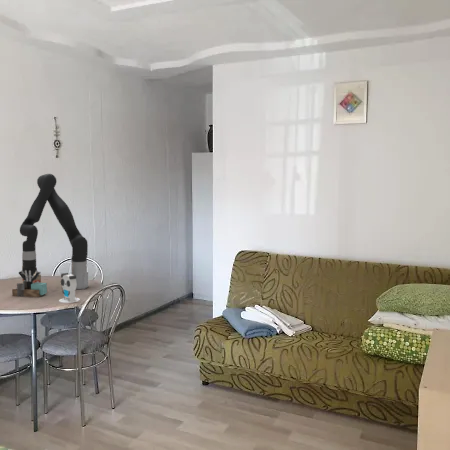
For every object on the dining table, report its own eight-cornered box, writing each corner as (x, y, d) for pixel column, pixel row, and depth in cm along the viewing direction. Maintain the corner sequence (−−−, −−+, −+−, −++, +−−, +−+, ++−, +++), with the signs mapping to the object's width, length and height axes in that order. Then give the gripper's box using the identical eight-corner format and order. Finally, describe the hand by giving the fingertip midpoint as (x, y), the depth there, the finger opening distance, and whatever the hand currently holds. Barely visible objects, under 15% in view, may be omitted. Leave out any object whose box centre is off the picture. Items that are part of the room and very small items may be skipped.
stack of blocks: (41, 289, 298) (40, 269, 297) (30, 290, 294) (30, 270, 293) (32, 282, 315) (31, 264, 314) (22, 283, 311) (21, 265, 310)
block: (46, 292, 285) (46, 282, 284) (42, 294, 279) (42, 284, 279) (35, 292, 285) (35, 282, 285) (31, 294, 280) (30, 284, 279)
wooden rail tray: (45, 293, 286) (44, 281, 285) (38, 297, 278) (38, 284, 277) (19, 292, 288) (19, 280, 287) (12, 296, 279) (12, 283, 279)
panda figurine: (55, 299, 273) (54, 273, 271) (73, 296, 281) (73, 271, 279) (64, 304, 264) (64, 277, 263) (83, 300, 272) (83, 274, 271)
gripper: (43, 257, 284) (43, 286, 286) (21, 257, 285) (22, 285, 287) (37, 259, 276) (37, 289, 278) (15, 259, 278) (15, 288, 279)
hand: (29, 287), depth 282 cm, fingers closed
